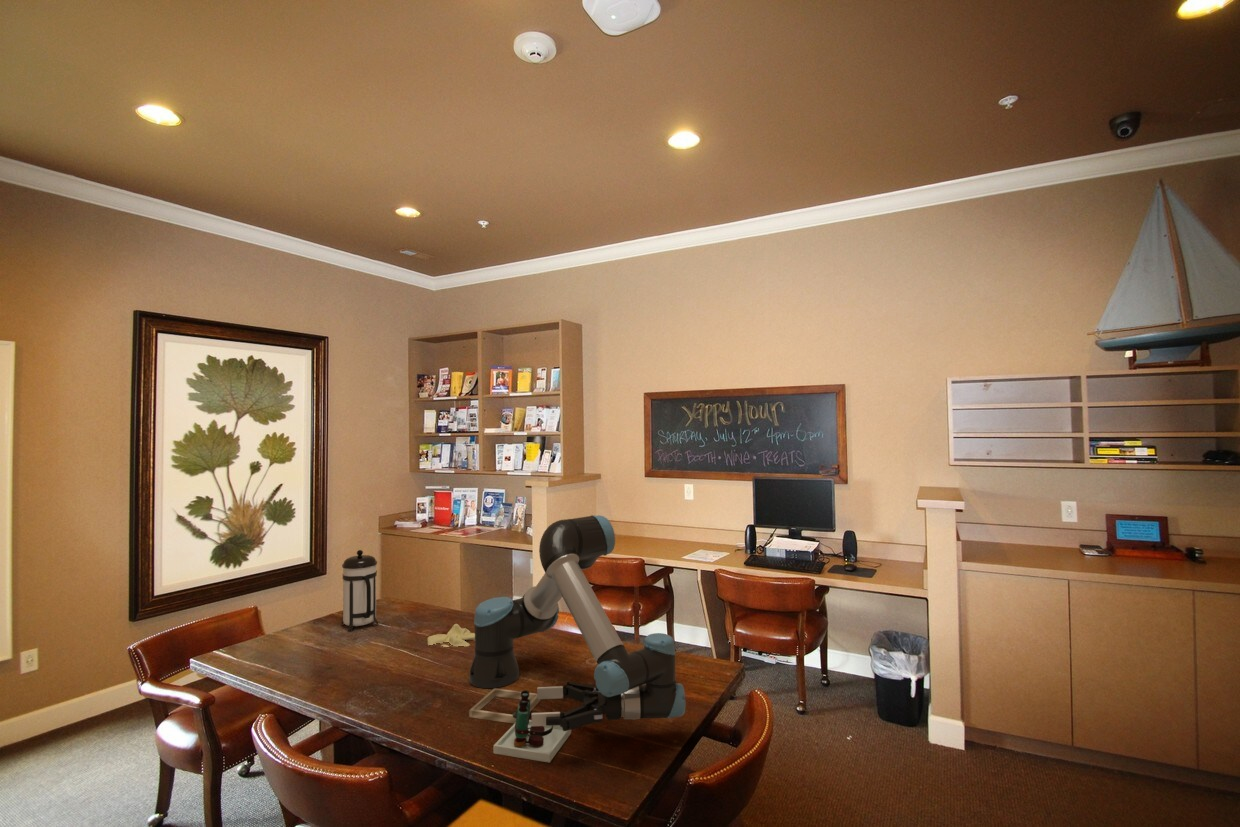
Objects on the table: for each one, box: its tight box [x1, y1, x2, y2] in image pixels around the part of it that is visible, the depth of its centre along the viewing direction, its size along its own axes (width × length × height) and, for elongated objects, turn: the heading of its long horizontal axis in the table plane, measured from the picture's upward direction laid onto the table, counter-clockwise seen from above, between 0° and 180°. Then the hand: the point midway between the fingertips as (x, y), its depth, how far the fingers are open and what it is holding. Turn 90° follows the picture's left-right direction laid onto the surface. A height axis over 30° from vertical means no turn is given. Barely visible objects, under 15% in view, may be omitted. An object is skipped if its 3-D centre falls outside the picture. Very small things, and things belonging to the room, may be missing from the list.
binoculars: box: [512, 689, 553, 747], centre depth 140 cm, size 9×11×10 cm
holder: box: [468, 688, 542, 725], centre depth 157 cm, size 15×14×2 cm
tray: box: [493, 719, 572, 763], centre depth 139 cm, size 14×13×2 cm
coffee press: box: [340, 549, 379, 632], centre depth 228 cm, size 17×16×30 cm
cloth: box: [426, 623, 475, 648], centre depth 210 cm, size 22×19×6 cm
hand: (534, 705), depth 139 cm, fingers open, 13 cm apart
